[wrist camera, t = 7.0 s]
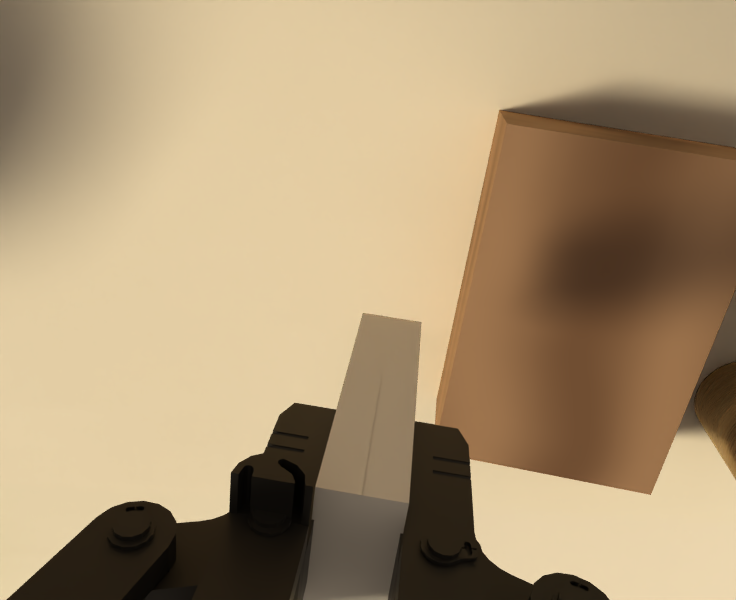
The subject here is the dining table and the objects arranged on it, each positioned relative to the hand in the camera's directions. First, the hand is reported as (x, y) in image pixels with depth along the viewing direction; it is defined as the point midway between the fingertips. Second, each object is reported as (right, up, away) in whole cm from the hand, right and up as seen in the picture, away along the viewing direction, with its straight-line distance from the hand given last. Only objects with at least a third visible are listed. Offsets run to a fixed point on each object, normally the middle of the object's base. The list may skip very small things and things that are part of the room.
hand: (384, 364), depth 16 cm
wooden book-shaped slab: (+7, +2, +8) cm, 11 cm away
